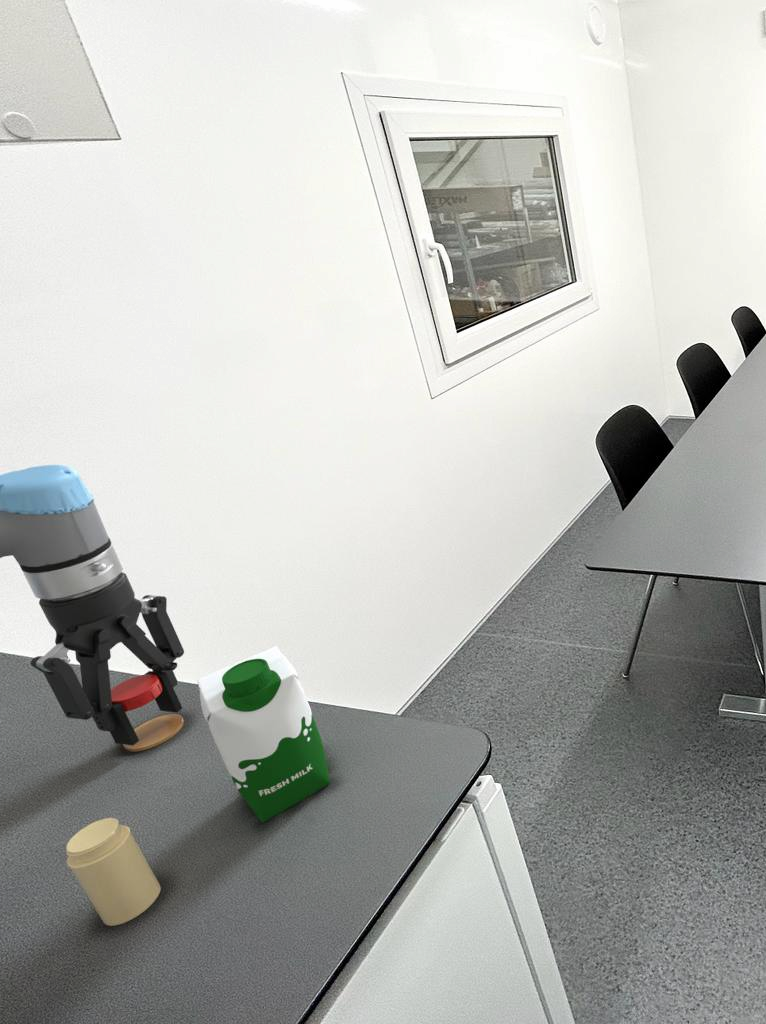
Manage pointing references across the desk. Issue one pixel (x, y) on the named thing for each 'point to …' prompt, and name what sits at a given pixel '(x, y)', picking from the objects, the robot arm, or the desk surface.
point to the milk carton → (265, 732)
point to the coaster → (156, 732)
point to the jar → (112, 871)
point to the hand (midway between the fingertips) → (150, 725)
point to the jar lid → (136, 691)
